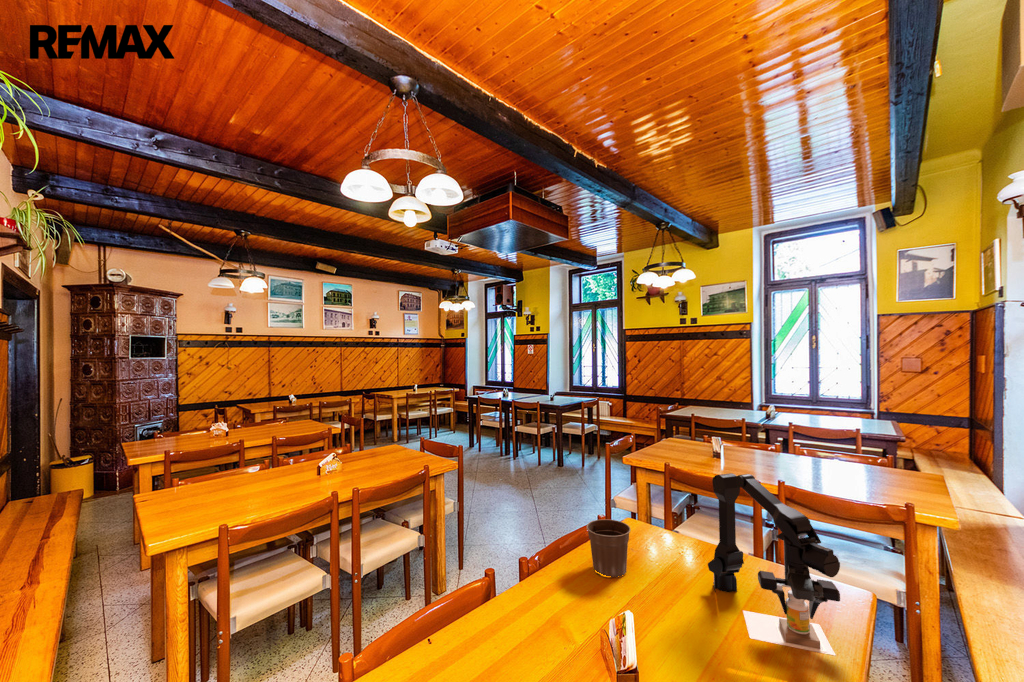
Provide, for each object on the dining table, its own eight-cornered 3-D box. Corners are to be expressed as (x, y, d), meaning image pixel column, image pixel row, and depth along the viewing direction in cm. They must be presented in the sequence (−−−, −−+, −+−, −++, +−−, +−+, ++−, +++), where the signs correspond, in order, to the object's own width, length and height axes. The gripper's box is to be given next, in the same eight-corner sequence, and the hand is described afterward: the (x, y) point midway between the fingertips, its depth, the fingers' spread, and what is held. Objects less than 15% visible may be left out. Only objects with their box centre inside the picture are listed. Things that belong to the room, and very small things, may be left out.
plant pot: (580, 574, 157) (579, 530, 157) (596, 556, 170) (595, 516, 171) (624, 586, 148) (622, 539, 149) (636, 566, 162) (635, 523, 162)
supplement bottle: (782, 623, 122) (780, 589, 122) (800, 622, 122) (797, 587, 123) (796, 635, 117) (794, 599, 117) (814, 634, 117) (812, 597, 118)
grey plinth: (785, 642, 117) (785, 634, 117) (779, 625, 124) (779, 618, 125) (820, 649, 114) (820, 641, 114) (811, 631, 122) (811, 624, 122)
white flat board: (749, 641, 119) (749, 637, 119) (742, 612, 132) (742, 610, 132) (836, 658, 112) (835, 655, 112) (819, 627, 125) (819, 623, 125)
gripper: (763, 567, 116) (765, 625, 115) (846, 579, 109) (849, 641, 109) (756, 550, 126) (758, 603, 126) (832, 560, 120) (834, 616, 119)
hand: (798, 616), depth 120 cm, fingers open, 6 cm apart
